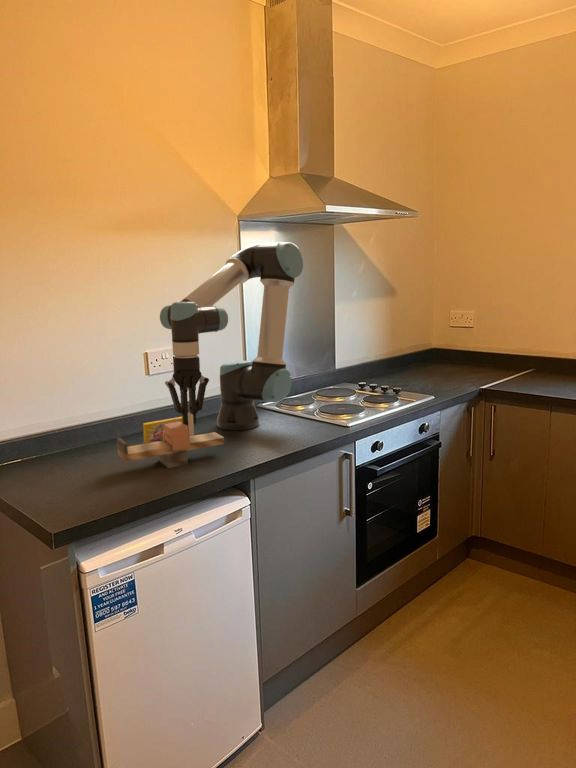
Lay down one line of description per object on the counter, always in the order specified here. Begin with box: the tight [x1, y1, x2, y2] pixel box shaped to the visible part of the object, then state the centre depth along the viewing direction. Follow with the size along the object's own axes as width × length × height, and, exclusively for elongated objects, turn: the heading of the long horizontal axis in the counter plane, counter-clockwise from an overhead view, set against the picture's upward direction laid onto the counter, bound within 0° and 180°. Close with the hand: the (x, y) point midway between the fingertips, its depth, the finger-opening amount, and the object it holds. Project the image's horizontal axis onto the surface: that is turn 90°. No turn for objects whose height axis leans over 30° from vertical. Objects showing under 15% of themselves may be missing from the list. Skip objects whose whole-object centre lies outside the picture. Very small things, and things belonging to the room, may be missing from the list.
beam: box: [116, 431, 226, 469], centre depth 174 cm, size 30×8×9 cm, turn 120°
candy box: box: [142, 416, 183, 444], centre depth 192 cm, size 16×2×8 cm, turn 128°
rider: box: [163, 422, 190, 451], centre depth 173 cm, size 5×9×6 cm, turn 30°
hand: (190, 434), depth 176 cm, fingers closed
